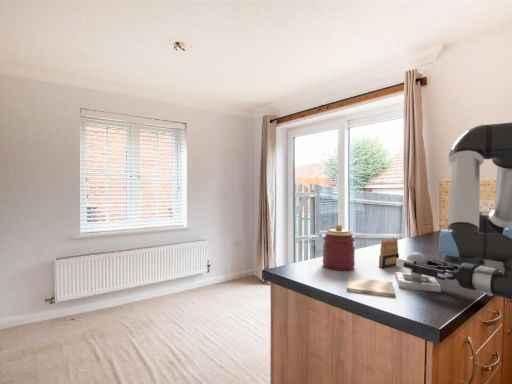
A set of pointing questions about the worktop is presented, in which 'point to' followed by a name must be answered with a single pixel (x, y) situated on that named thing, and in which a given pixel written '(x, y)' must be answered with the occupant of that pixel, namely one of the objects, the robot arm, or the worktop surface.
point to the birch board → (370, 287)
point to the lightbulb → (420, 260)
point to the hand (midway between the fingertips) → (402, 260)
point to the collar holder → (429, 286)
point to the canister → (338, 249)
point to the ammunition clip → (388, 253)
